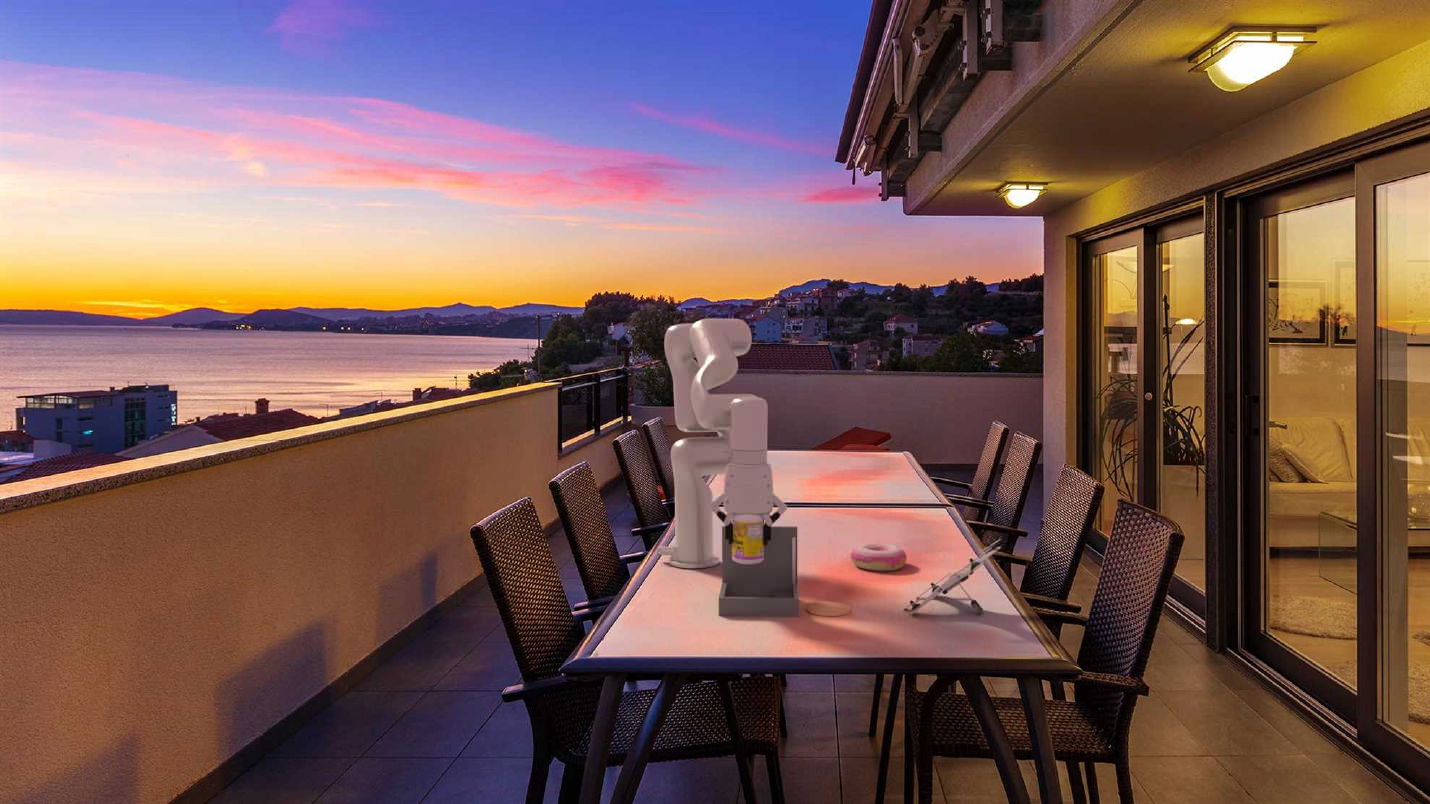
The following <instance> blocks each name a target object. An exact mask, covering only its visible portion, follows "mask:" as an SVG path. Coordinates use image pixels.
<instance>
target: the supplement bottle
mask: <svg viewBox="0 0 1430 804" xmlns="http://www.w3.org/2000/svg"><path fill="white" fill-rule="evenodd" d="M764 524H765V519H764V517H763V515H762V514H734V516H733V518H732V559H733V560H734V561H735V562H737V563H740V564H756V563H760V562H762V561H763V560H764Z"/></svg>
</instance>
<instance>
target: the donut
mask: <svg viewBox="0 0 1430 804" xmlns="http://www.w3.org/2000/svg"><path fill="white" fill-rule="evenodd" d="M850 559H851V562H852V563H853V564H854V565H855V566H856V567H858V568H860V569H863V570H867V571H874V572H875V571H876V572H893V571H897V570H900V569H901V568H903V567H904V566H905V564H906V562H907V554H906V551H905V550H904V549H902V547H900V546H897V545H894V544H891V543H886V542H885V543H884V542H883V543H882V542H869V543H867V542H866V543H863V544H862V543H861V544H858V545H857V546H855V547H853V549H852V551H851V552H850Z"/></svg>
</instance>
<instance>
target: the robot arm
mask: <svg viewBox="0 0 1430 804" xmlns="http://www.w3.org/2000/svg"><path fill="white" fill-rule="evenodd" d="M752 341H753V340H752V331H751V329H750V327H749V325H748V324H747V322H746V321H745V320H743V319H739V318H703V319H700V320H698V321H695V322H694V323H681V324H680V323H679V324H678V323H677V324H674V325H672V326H670V327H668V329H667V330H666V332H665V334H664V355H665V358H666V361H667V365H668V367H669V370H670V372H671V373H670V374H671V377H672V383H673V405H674V420H675V424H676V427H677V428H678V430H680V431H681V432H684V433H711V432H716V433H717V436H709V437H707V436H701V437H685V438H681V439H679V440H677V441H675V442H674V443H673V445H672V446H671V450H670V460H671V467H672V474H673V482H674V484H673V485H674V529H675V530H674V532H675V533H674V536H675V537H674V538H675V539H674V540H675V542H674V544H673V545H670V546H665V545H661V546H658V547H657V554H658V555H661V556H670V557H669V559H668V560H669V561H668V562H669V564H670V565H671V566H673V567H676V568H681V569H705V568H711V567H714V566H717V565H718V564H720V557H719V556H718V555H716V554H714V514H715V515H716V517H717V518H718V519H719V520H720V521H721V522H722V523H723V524H724V526H725V540H728V544H729V545H731V544H732V518H733V516H734V514H762V515H763V517H764V545H768V540H771V526H773V524H774V523H776V522H777V521H778V519H780V517H781V516H782V515H783V514H785V512H786V511H787V510H788V506H787V504H786V503H785V502H784V501H782V499H781V498H780V497H778V496H777V495H776V494H775V493H774V481H773V480H774V479H773V478H774V477H773V472H772V466H771V464H770V463H768V417H769V415H768V411H769V408H768V407H769V406H768V402H767V401H766V399H764V398H763V397H758V396H756V395H755V394H753V393H752V394H751V393H718V394H717V393H712V394H710V393H709V392H708V391H709V390H711V389H714V388H716V387H718V386H721V385H722V384H725V383H727V382H729V381H730V380H731V379H732V378H733V377H734V376H735V375H736V374H737V372H738V370H739V361H738V358H737V357H740V356H744V355H746V354H747V353H748V352H749V350H750V349H751V346H752ZM695 358H696V360H697V361H696V360H695ZM715 475H717V476H718V475H724V481H723V492H722V494H720V496H718V497H717V498H716V499H715V500H714V498H713V496H714V495H713V490H712V488H711V487H710V486H709V485H708V483H707V482H706V481H705V479H704V478H703V477H704V476H706V477H707V476H715ZM721 504H723V510H724V511H723V510H722V509H721V508H720V507H719V506H721ZM774 504H775V506H777V507H778V509H776V511H775V512H773V513H772V511H773V509H774ZM725 512H726V513H727V514H726V513H725ZM770 513H772V514H770Z"/></svg>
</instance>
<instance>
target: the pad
mask: <svg viewBox="0 0 1430 804" xmlns="http://www.w3.org/2000/svg"><path fill="white" fill-rule="evenodd" d="M805 610H806V612H807V613H808V614H811V615H814V616H821V617H840V616H845V615H847V614H849V613H850V612H851V607H850V606H849V605H848V604H845V603H842V602H838V601H815V602H811V603H808V604H807V605H806V606H805Z"/></svg>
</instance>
